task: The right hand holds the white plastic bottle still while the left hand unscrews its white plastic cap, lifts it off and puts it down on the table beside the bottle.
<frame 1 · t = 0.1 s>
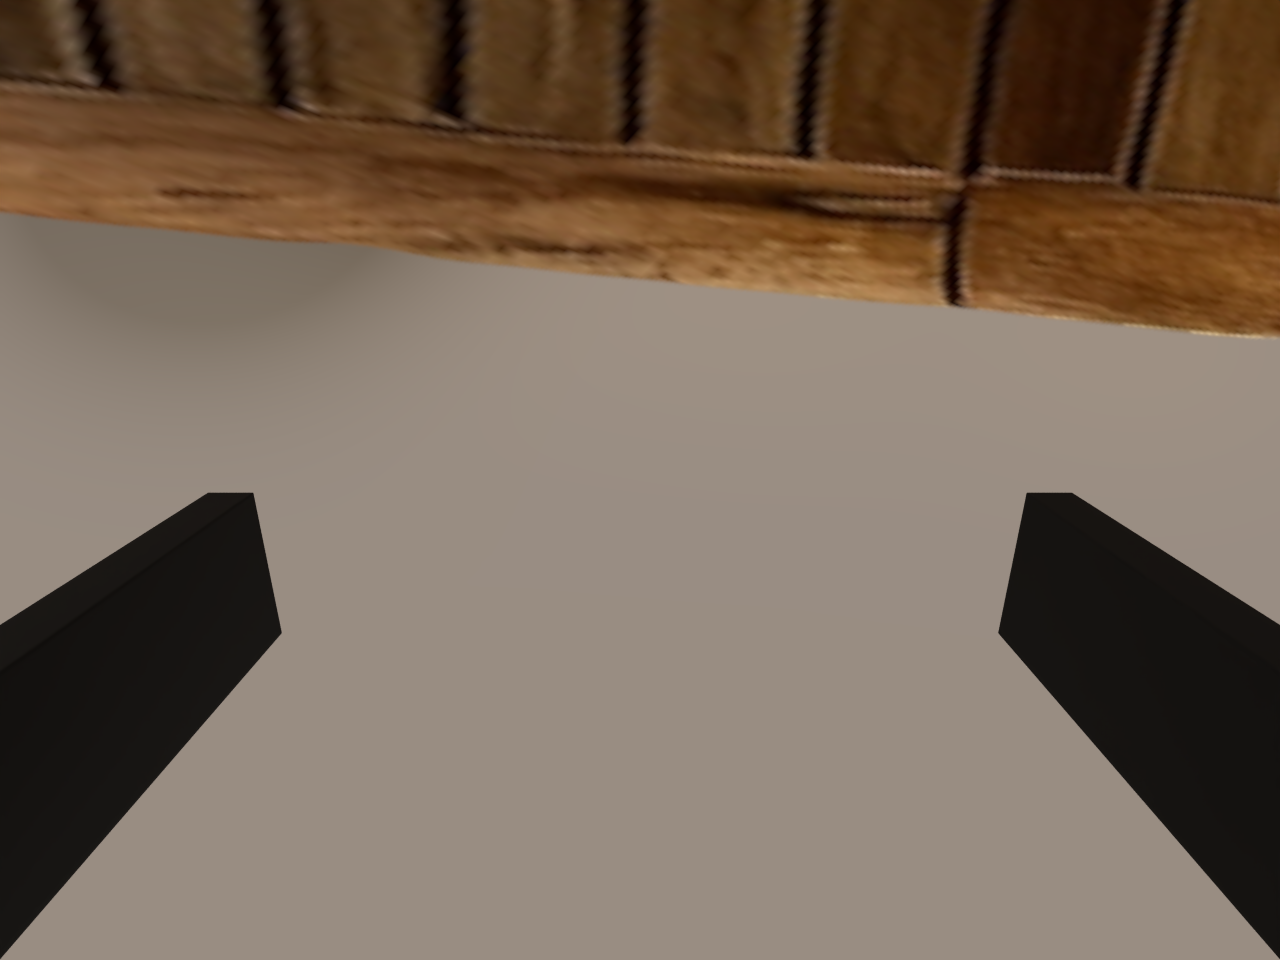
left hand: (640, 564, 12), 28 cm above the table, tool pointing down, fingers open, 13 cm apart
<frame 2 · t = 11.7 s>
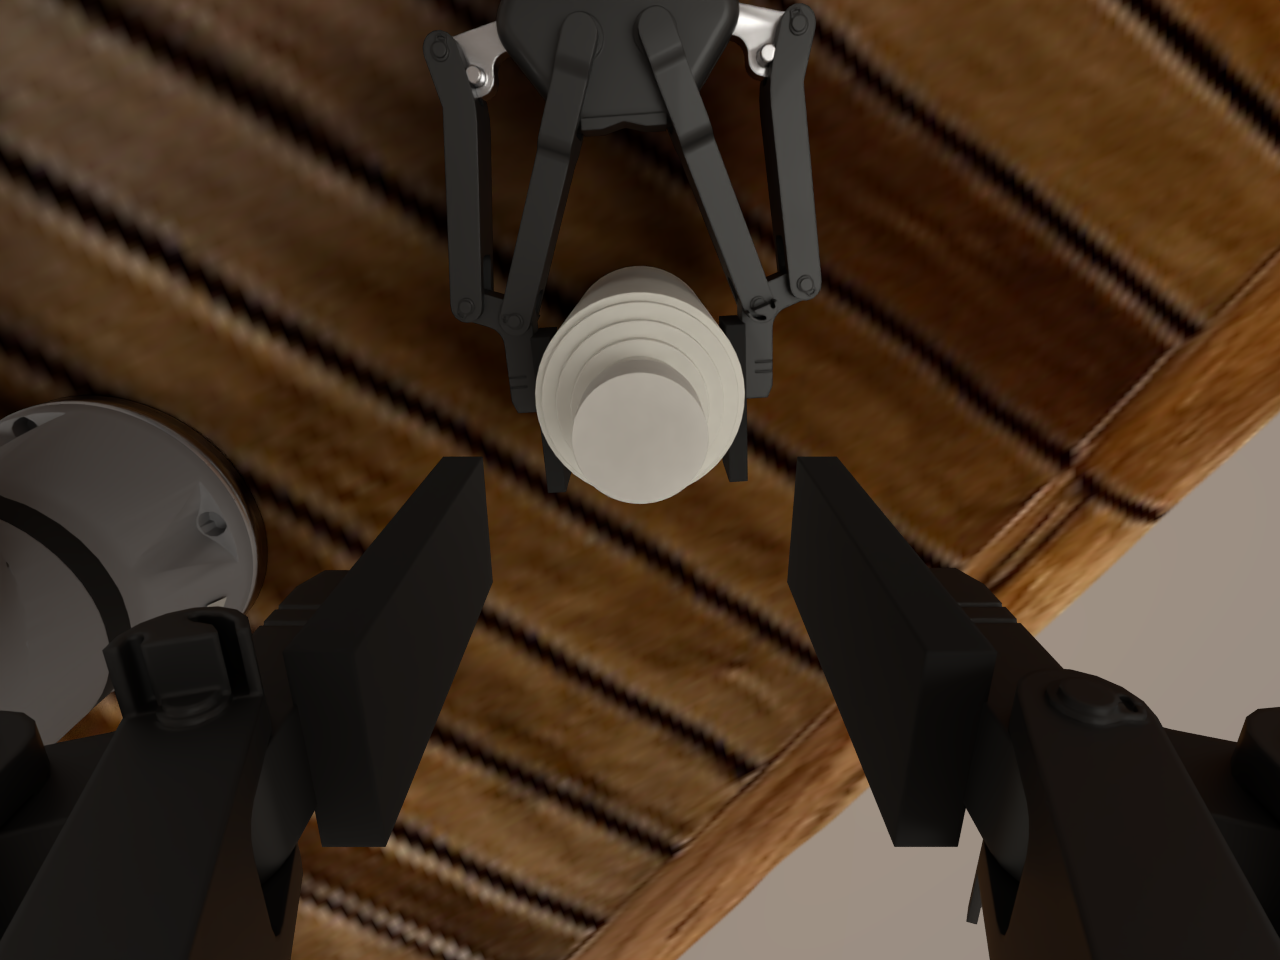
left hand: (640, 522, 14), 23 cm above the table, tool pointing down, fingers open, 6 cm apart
right hand: (647, 475, 31), fingers closed on bottle, 7 cm apart
bottle: (639, 337, 35), on the table, touching right hand
cap: (640, 437, 19), point 17 cm above the table, screwed on, not yet turned
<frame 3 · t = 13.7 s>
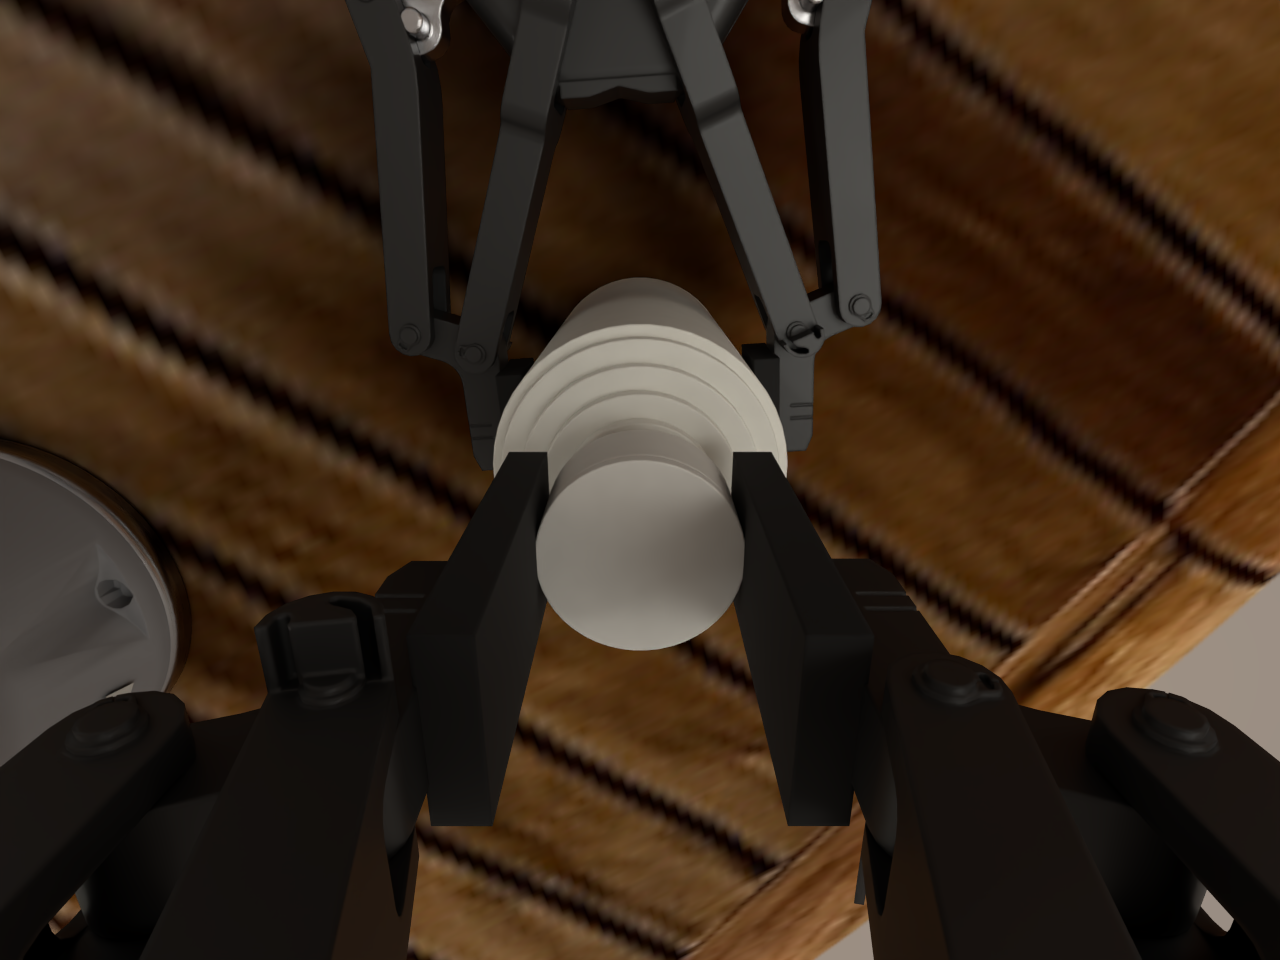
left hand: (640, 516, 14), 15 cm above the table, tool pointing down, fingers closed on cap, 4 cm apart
bottle: (640, 365, 29), on the table, touching right hand
cap: (640, 553, 13), point 17 cm above the table, screwed on, not yet turned, touching left hand
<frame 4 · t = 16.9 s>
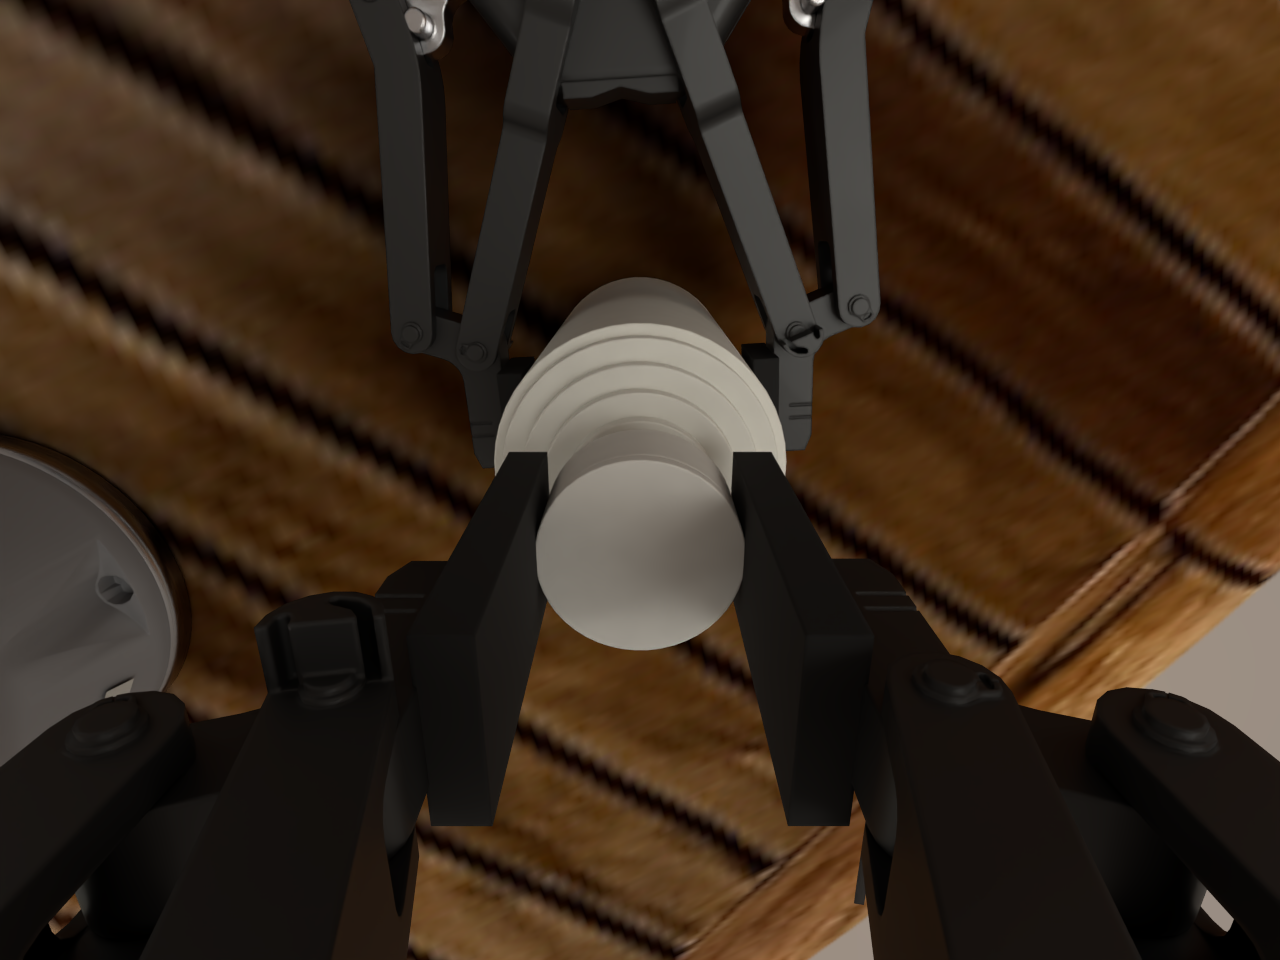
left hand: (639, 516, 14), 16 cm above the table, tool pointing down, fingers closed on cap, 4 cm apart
bottle: (640, 364, 29), on the table, touching right hand
cap: (640, 552, 13), point 17 cm above the table, turned 114° so far, risen 0.1 cm, still on its thread, touching left hand
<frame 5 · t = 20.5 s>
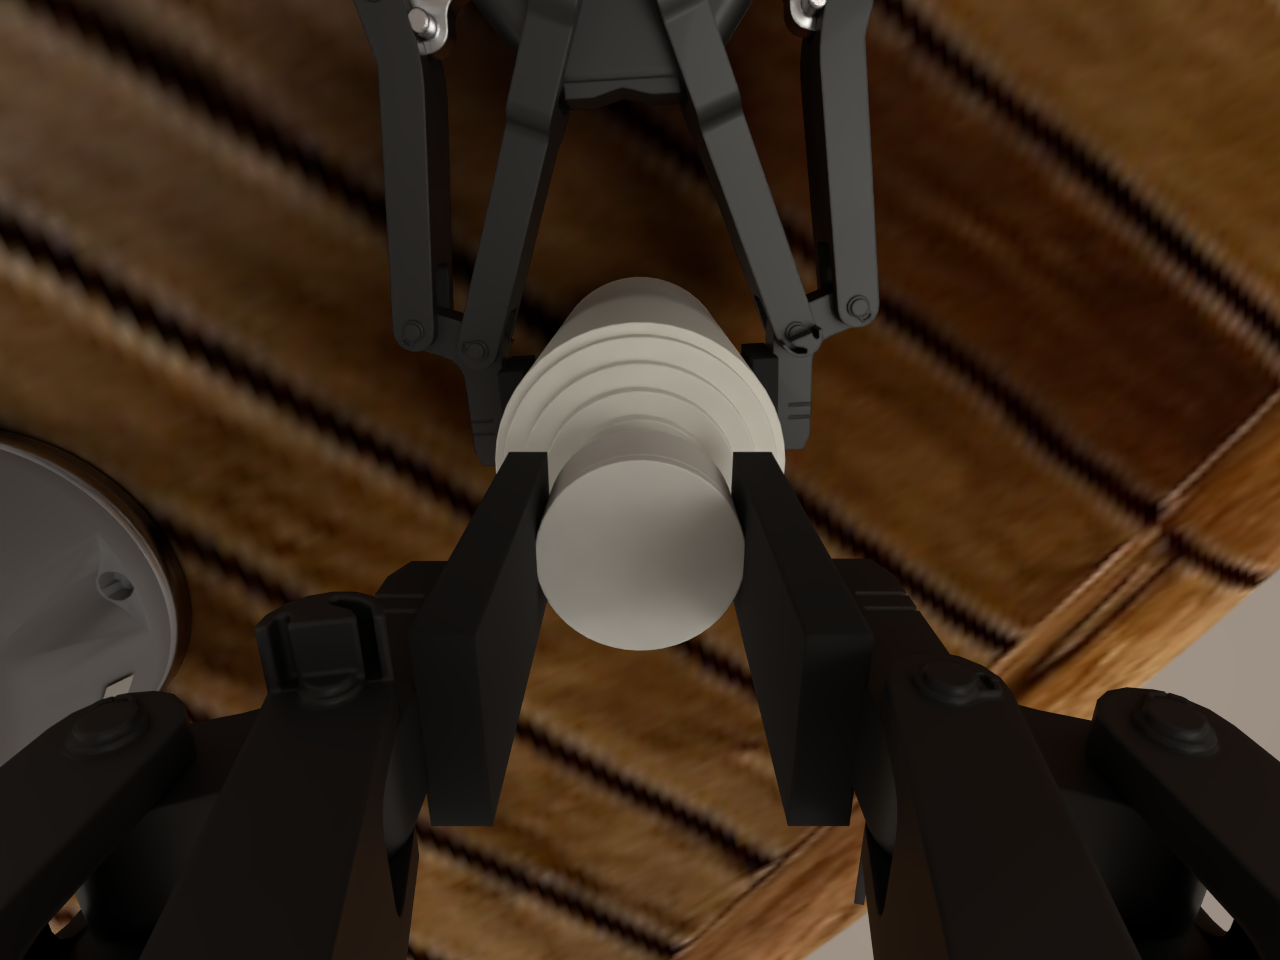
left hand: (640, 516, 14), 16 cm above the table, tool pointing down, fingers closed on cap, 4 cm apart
bottle: (640, 364, 29), on the table, touching right hand
cap: (640, 553, 13), point 17 cm above the table, turned 227° so far, risen 0.3 cm, still on its thread, touching left hand
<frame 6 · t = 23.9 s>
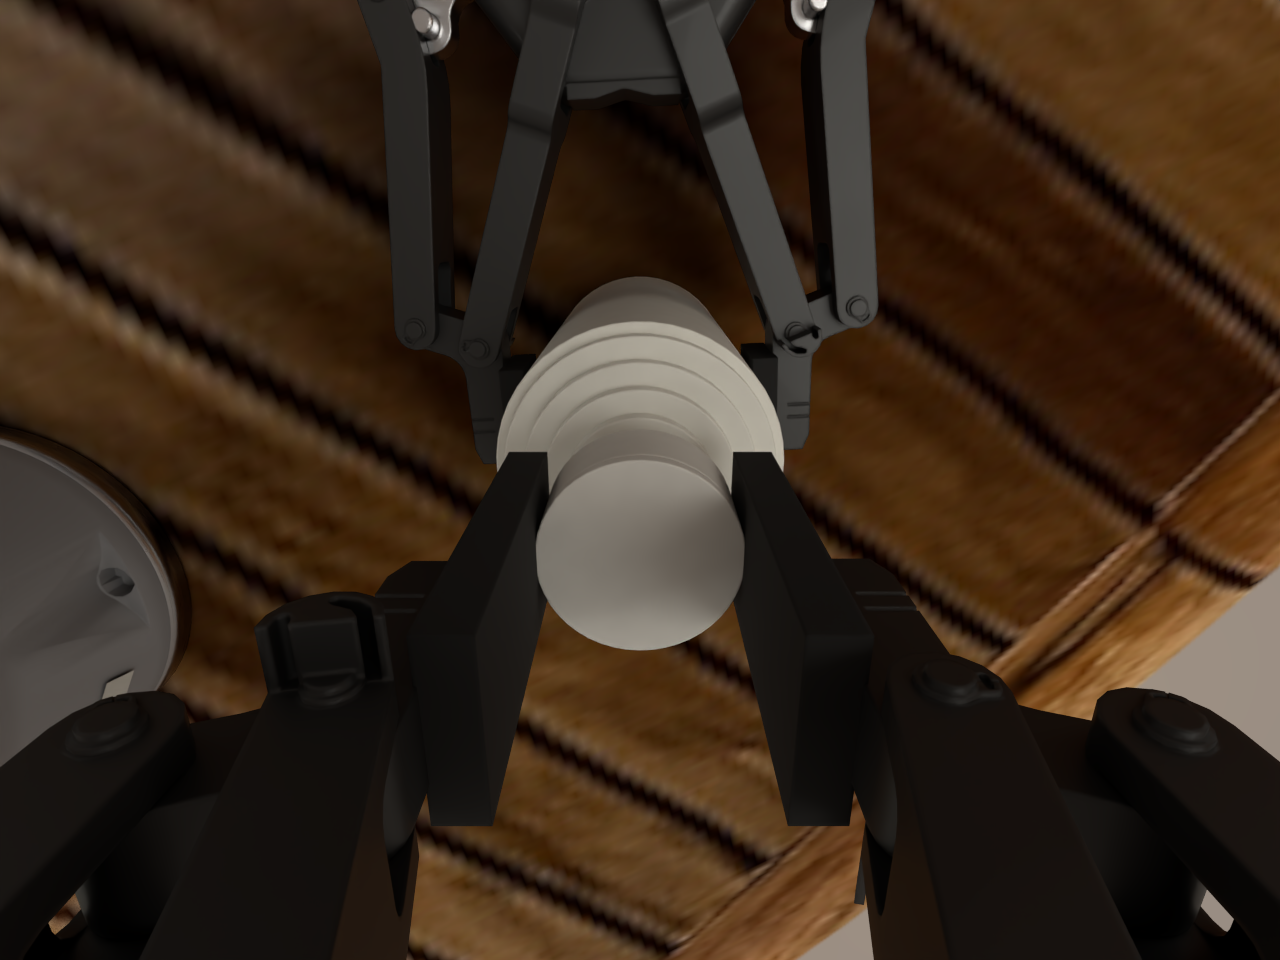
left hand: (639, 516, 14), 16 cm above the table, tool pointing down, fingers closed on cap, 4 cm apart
bottle: (640, 363, 29), on the table, touching right hand
cap: (640, 552, 13), point 18 cm above the table, turned 341° so far, risen 0.4 cm, still on its thread, touching left hand
when the left hand's fingers open (1 cm above the table, at t = 30.6 s): cap stays where it is, point 2 cm above the table.
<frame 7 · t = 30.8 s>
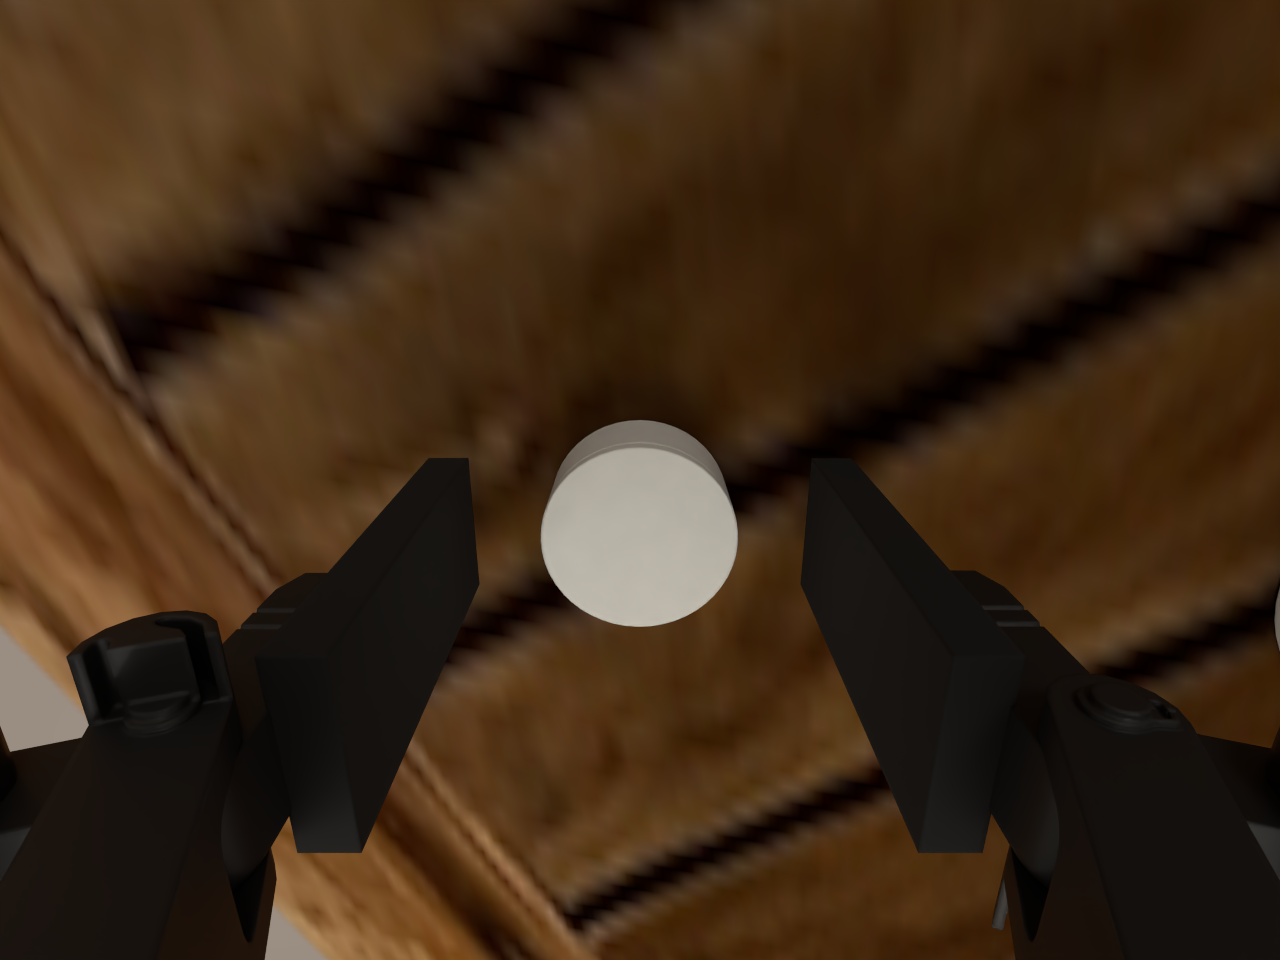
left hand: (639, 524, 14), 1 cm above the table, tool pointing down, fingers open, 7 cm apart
cap: (639, 535, 14), point 2 cm above the table, off its thread
when the right hand's fingers open (6 cm above the table, at t = 31.8 s): bottle stays where it is, on the table.
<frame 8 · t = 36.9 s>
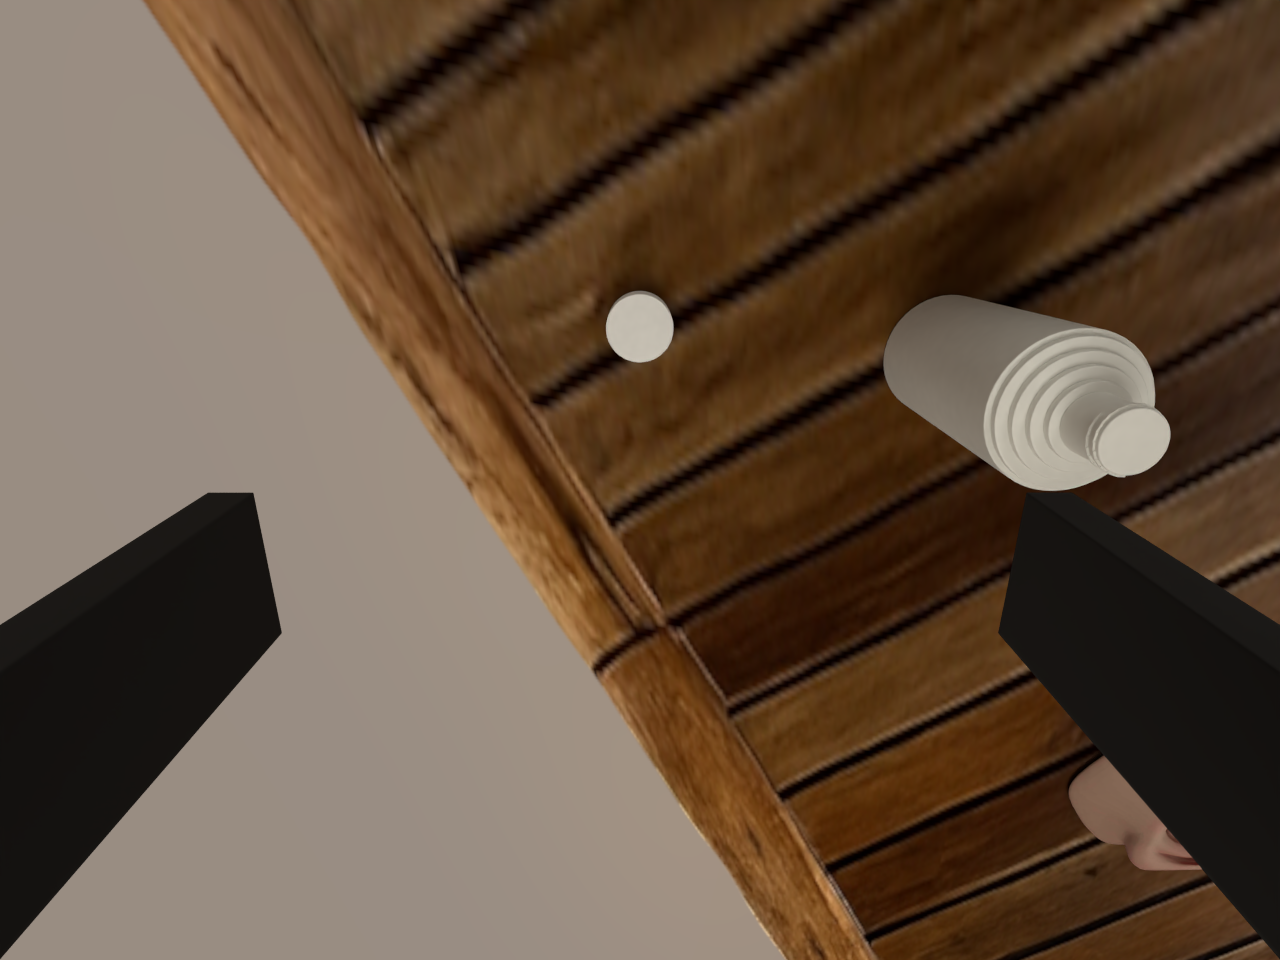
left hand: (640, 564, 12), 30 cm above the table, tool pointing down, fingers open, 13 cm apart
bottle: (943, 355, 41), on the table
anatomical model: (1161, 789, 52), on the table
cap: (639, 328, 39), point 2 cm above the table, off its thread
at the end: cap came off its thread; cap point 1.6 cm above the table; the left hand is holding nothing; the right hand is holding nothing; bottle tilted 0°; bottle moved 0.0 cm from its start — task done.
